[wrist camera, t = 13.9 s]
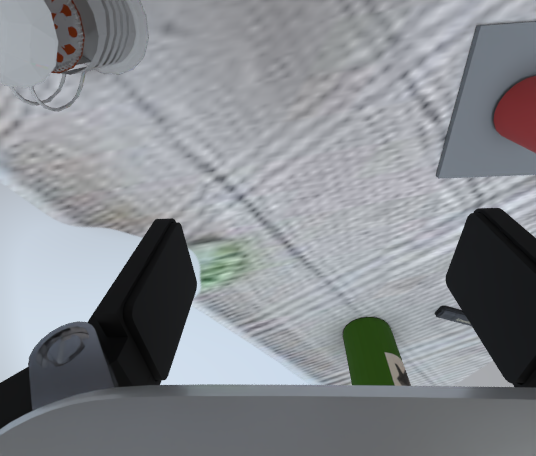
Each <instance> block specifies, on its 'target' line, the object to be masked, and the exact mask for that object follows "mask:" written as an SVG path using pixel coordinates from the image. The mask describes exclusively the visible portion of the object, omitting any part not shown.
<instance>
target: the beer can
mask: <svg viewBox="0 0 536 456" xmlns="http://www.w3.org/2000/svg"><path fill="white" fill-rule="evenodd" d="M494 125H495V128H496V131H497V132H498V133H499V134H500V135H501V136H503V137H505V138H507V139H509V140H511V141H513V142H515V143H517V144H519V145H521V146H522V147H524V148H526V149H528V150H530V151H532V152H534V153H536V76H533V77H529V78H526V79H524V80H523V81H521V82H519V83H517V84H515V85H514V86H513V87H512V88H511V89H510V90H509V91H507V92H506V93H505V95H504V96H503V97H502V99H501V100H500V101H499V103H498V105H497V108H496V110H495V112H494Z"/></svg>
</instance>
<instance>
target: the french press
mask: <svg viewBox="0 0 536 456" xmlns="http://www.w3.org/2000/svg"><path fill="white" fill-rule="evenodd" d="M148 39H149V37H148V28H147V19H146V14H145V12H144V9H143V7H142V5H141V3H140V0H0V84H2V85H4V86H9V87H10V89H11V90H12V92H13V94H14V95H15V96H17V97H18V98H19V99H20V100H21V101H22V102H25V103H28V104H30V105H41V106H43V107H44V108H46V109H49V110H52V111H61V110H63V109H65V108H68V107H70V106H71V105H72V104H73V102H74V101H75V100H76V99H77V98H78V97H79V95H80V92H81V90H82V87H83V82H84V78H85V73H86V72H87V71H91V70H97V71H99V72H101V73H107V74H116V75H119V74H122V73H125V72H127V71H130V70H133V69H134V68H135V67H136V66H137V64H138V63H139V62H140V61H141V60H142V58H143V57H144V54H145V50H146V47H147V43H148ZM83 63H84V64H86V65H87V67H84V68H79V69H74V70H70V71H67V70H69V69H72V68H74V66H75V65H78V64H83ZM80 72H82V76H81V80H80V84H79V88H78V90H77V93H76V95H75V97H74V98H73V100H72V101H71V102H69V103H68V104H66V105H64V106H62V107H60V108H51V107H49V106H46V105H45V104H44V103H47V102H50V101H51V100H52V99H53V98H54V97H55V96H56V95H57V94H58V93H59V92H60V91H61V88H62V86H63V84H64V82H65V77H66V74H70V75H71V74H75V73H80ZM50 73H62V74H63V75H62V79H61V83H60V85H59V88H58V90H57V91H56V92H55V93H54V94H53V95H52V96H50V97H49V98H48V99H47V100H43V101H40V100H39V99H38V97H37V95H36V93H35V91H34V85H37V84H40V83H42V82H45V80H46V79H47V78H48V76H49V75H50ZM14 87H20V88H28V87H29V88H30V91H31V93H32V95H33V96H34V98H35V100H36V101H37V102H32V101H29V100H26V99H24V98H23V97H22V96H21V95H19V94H18V93H17V92H16V91H15V89H14Z"/></svg>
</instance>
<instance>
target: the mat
mask: <svg viewBox="0 0 536 456" xmlns="http://www.w3.org/2000/svg"><path fill="white" fill-rule="evenodd" d="M533 76H536V21H533V22H520V23H507V24H494V25H480V26H477V27H476V30H475V34H474V38H473V41H472V45H471V49H470V52H469V56H468V60H467V63H466V67H465V71H464V74H463V78H462V82H461V85H460V89H459V93H458V96H457V100H456V104H455V107H454V111H453V115H452V118H451V122H450V126H449V129H448V133H447V137H446V140H445V144H444V148H443V151H442V155H441V159H440V162H439V166H438V170H437V173H436V176H437V177H438V178H461V177H486V176H511V175H536V153H534V152H532V151H530V150H528V149H526V148H524V147H522V146H521V145H519V144H517V143H515V142H513V141H511V140H509V139H507V138H505V137H503V136H501V135H500V134H499V133H498V132H497V131H496V128H495V125H494V112H495V110H496V108H497V105H498V103H499V101H500V100H501V99H502V97H503V96H504V95H505V93H506V92H507V91H509V90H510V89H511V88H512V87H513V86H514V85H515V84H517V83H519V82H521V81H523V80H524V79H526V78H529V77H533Z"/></svg>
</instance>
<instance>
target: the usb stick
mask: <svg viewBox="0 0 536 456" xmlns="http://www.w3.org/2000/svg"><path fill="white" fill-rule="evenodd" d="M435 314H436V317H439V318H443V319H447V320H451V321H454V322H458V323H462V324H466V325H470V326H472V325H471V324H470V322H469V320H468V319H467V317H466V316H465V314H464V312H463V311H461V310H457V309H454V308H450V307H446V306H441V307H440V308H439V309H438V310H437V311H436V312H435Z"/></svg>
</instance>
